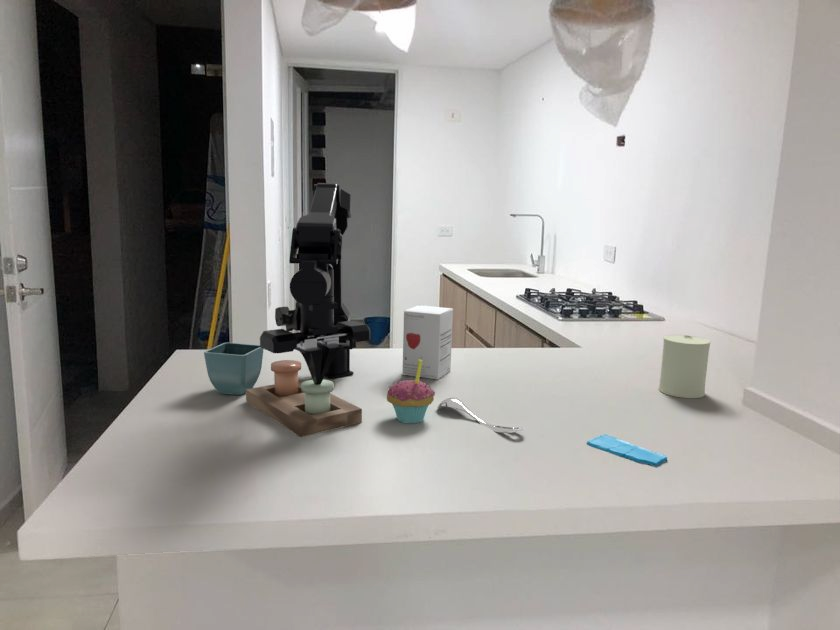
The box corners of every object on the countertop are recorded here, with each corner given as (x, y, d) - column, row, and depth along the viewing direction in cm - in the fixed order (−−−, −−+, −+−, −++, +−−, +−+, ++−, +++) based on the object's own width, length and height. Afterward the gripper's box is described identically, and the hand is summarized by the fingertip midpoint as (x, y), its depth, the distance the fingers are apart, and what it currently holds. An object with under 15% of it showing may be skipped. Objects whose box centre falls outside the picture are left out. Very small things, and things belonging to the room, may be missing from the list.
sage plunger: (323, 409, 112) (323, 377, 111) (339, 418, 107) (339, 385, 106) (295, 415, 108) (295, 382, 107) (311, 424, 104) (310, 390, 103)
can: (704, 389, 133) (711, 335, 131) (704, 401, 125) (711, 343, 123) (659, 383, 137) (664, 330, 135) (656, 394, 128) (662, 338, 126)
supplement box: (400, 375, 138) (402, 310, 135) (416, 366, 146) (417, 304, 144) (438, 380, 135) (440, 313, 132) (451, 370, 143) (453, 307, 140)
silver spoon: (532, 414, 103) (513, 420, 100) (531, 434, 104) (513, 441, 101) (449, 392, 118) (431, 397, 115) (449, 410, 119) (432, 415, 116)
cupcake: (439, 414, 113) (441, 351, 111) (424, 430, 105) (426, 362, 103) (396, 408, 115) (397, 347, 113) (378, 423, 108) (379, 357, 105)
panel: (302, 391, 125) (302, 379, 124) (361, 422, 108) (361, 408, 107) (246, 401, 117) (245, 389, 117) (300, 437, 100) (300, 422, 100)
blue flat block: (647, 467, 91) (670, 454, 94) (583, 441, 101) (606, 430, 104) (647, 476, 91) (670, 463, 95) (583, 449, 101) (606, 438, 104)
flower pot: (245, 400, 119) (244, 355, 117) (204, 396, 120) (202, 351, 119) (265, 387, 127) (264, 345, 125) (226, 383, 129) (225, 342, 127)
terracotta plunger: (293, 388, 121) (292, 358, 120) (306, 395, 116) (306, 364, 115) (266, 393, 117) (265, 362, 116) (279, 400, 113) (279, 369, 112)
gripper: (339, 286, 116) (339, 366, 119) (245, 293, 104) (247, 381, 107) (372, 294, 107) (371, 379, 110) (274, 302, 96) (275, 398, 99)
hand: (317, 384), depth 107 cm, fingers closed, pressing on sage plunger
